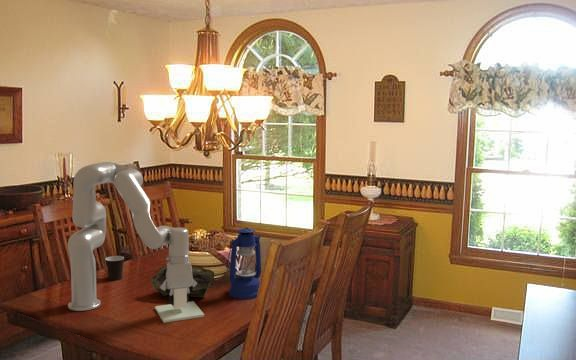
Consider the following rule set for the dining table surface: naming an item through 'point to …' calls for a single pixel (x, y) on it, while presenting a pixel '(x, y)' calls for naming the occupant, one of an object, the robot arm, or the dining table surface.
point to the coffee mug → (114, 267)
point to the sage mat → (179, 312)
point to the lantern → (244, 282)
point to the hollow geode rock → (199, 275)
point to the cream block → (180, 298)
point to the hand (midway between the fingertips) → (179, 302)
